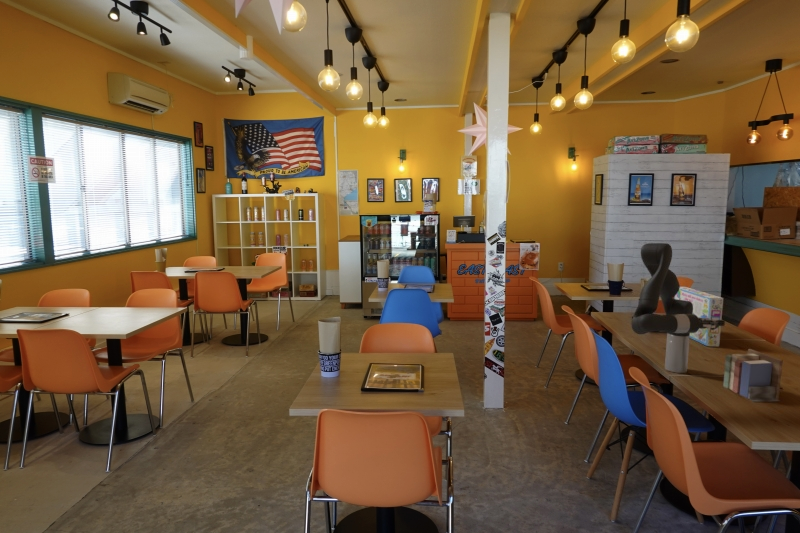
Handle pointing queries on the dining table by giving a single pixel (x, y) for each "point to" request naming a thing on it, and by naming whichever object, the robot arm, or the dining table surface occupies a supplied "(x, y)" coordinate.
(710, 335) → the game box
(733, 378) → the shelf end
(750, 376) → the boxed book
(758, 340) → the dining table surface
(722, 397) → the dining table surface
